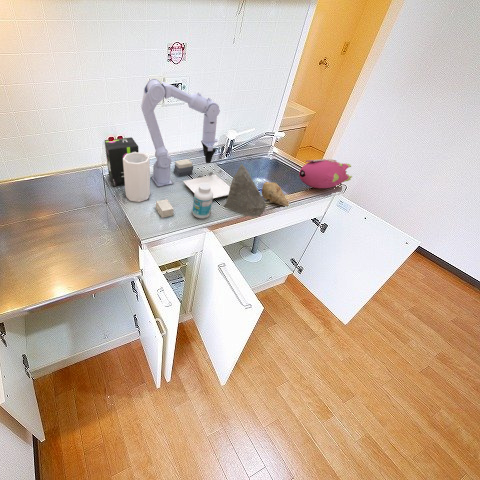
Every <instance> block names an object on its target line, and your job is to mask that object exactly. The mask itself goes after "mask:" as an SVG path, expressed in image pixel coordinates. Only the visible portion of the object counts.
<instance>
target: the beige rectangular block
mask: <svg viewBox="0 0 480 480" xmlns="http://www.w3.org/2000/svg"><path fill="white" fill-rule="evenodd" d="M175 165H176V166H177V167H178V168H179V169H180V168H185V167H191V166H193V162H192V161H191V159H189V158H186V159H180V160H175V161H174V166H175Z"/></svg>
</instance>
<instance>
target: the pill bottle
mask: <svg viewBox="0 0 480 480" xmlns="http://www.w3.org/2000/svg"><path fill="white" fill-rule="evenodd" d="M213 200H214V199H213V192H212V191H211V186H210V185H209V184H206V183H202V184H200V185H199V189H197V190H196V191H195V193H193V203H192V211H191V213H192V215H193V216H194V217H195V218H197V219H207V218H208V217H209V216H210V215H211V208H212V203H213Z"/></svg>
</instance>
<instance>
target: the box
mask: <svg viewBox="0 0 480 480" xmlns="http://www.w3.org/2000/svg"><path fill="white" fill-rule="evenodd" d="M113 139H114V140H113V141H109V140H110V139H105V140H104V149H105V157H106V163H107V171H108V177H109V179H110V182H111V184H112V187H119V186H120V187H121V186H125V179H124V167H123V158H124V156H125V155H126V154H129V153H133V152H138V153H140V151H139V145H138V144H137V142H136V140H134V138H133V137H131V136H130V137H122V139H120V138H113Z"/></svg>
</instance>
